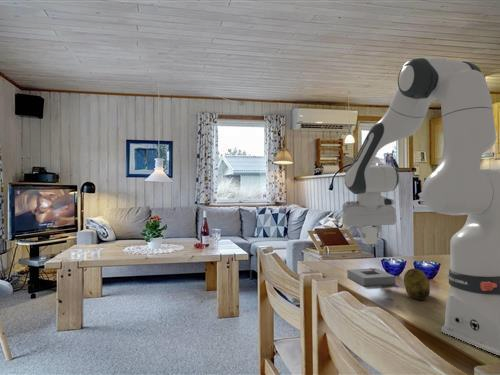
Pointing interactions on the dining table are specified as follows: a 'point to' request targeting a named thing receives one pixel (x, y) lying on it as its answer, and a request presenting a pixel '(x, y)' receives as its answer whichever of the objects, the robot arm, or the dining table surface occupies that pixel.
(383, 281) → the socket
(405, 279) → the potato
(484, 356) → the dining table surface
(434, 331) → the dining table surface
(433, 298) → the dining table surface
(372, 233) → the plug
